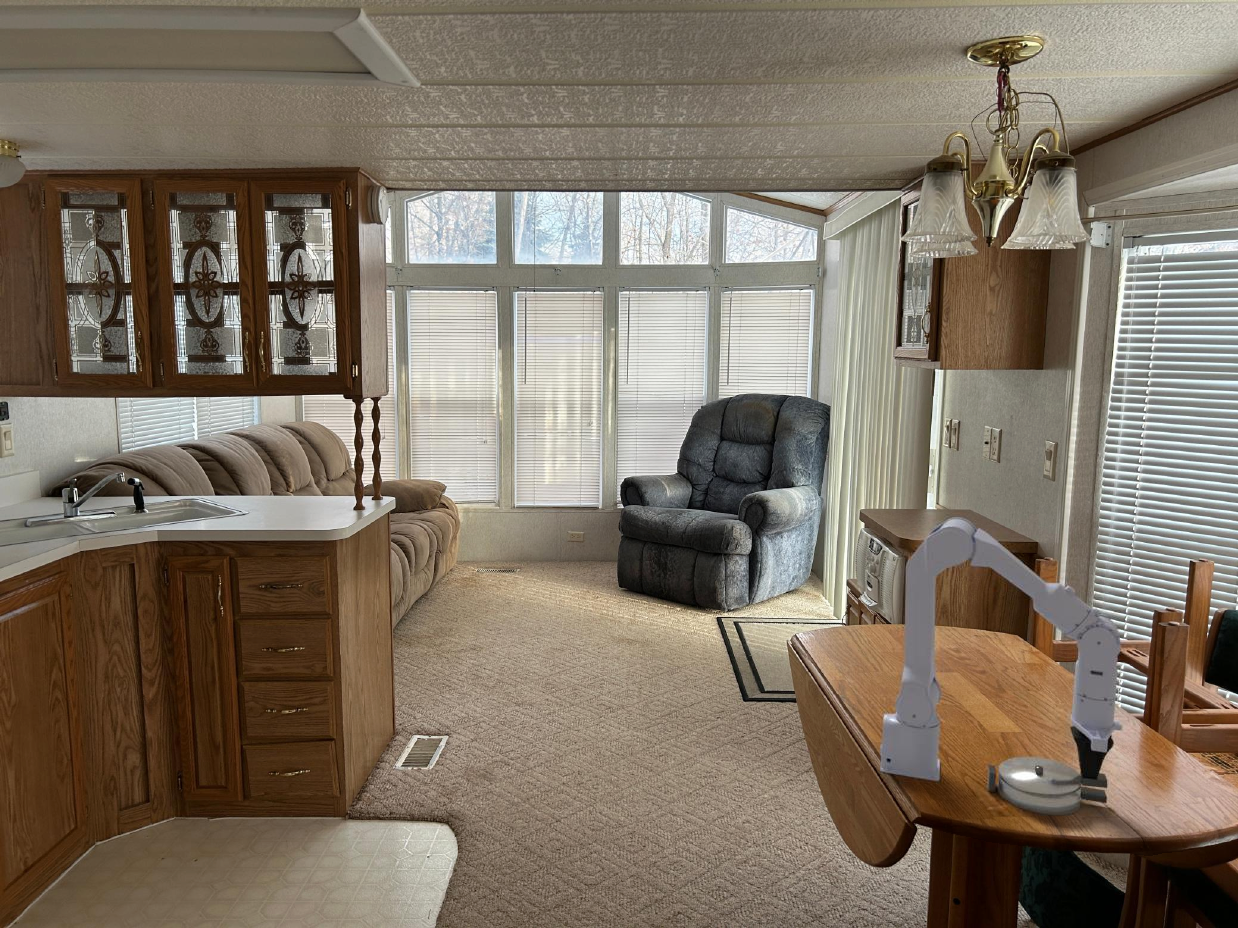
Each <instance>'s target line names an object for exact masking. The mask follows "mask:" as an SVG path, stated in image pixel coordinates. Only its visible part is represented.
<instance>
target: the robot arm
mask: <svg viewBox="0 0 1238 928" xmlns="http://www.w3.org/2000/svg"><path fill="white" fill-rule="evenodd" d="M969 559H972V560H971V562H970V564H969V565H970V567H971V566H972V567H982V568H983V567H984V568H986V567H987V568H991V569H992V570H993V571H995V572H996V573H997V574H999V575H1001V577H1003V578H1005V579H1006V580H1007V581H1009V582H1010V583H1011V584H1012V585H1014V586H1015V587H1017V588H1018V589H1019V590H1021V591H1022V592H1023V593H1025V594H1026V595H1028V596H1029V597H1030V598H1031V599H1032V601H1033V602H1032V603H1033V609H1034V611H1035V612H1036V613H1038V614H1039V615H1040V616H1041V617H1042V618H1044V619H1045V620H1046V621H1047V622H1049V624H1051V625H1053V626H1054V627H1055V628H1057V629H1058V630H1059V631H1060V632H1061V633H1062V634H1064V635H1065V636H1066V637H1068V638H1070V639H1072V640H1073V639H1074V640H1075V641H1076V646H1077V649H1078V653H1077V655H1078V656H1077V660H1076V662H1075V668H1074V685H1073V697H1072V698H1073V699H1072V711H1071V712H1072V713H1071V715H1070V723H1071V725H1072V726H1070V727H1069V728H1070V732H1071V735H1072V738H1073V740H1074V742H1075V745H1076V749H1077V756H1078V757H1077V758H1078V764H1079V770H1080V772H1081V774H1082V777H1088V778H1097V777H1098V775H1099V773H1100V772H1101V769H1102V765H1103V763H1104V760H1105V758H1106V756H1107V754H1108V753H1109V752H1110V751H1111V750H1112V748H1113V747H1114V744H1115V742H1114V739H1113V738H1112V737H1113V733H1114V731H1122V730H1123V724H1122V723H1121V721H1117V720H1115V709H1116V708H1115V707H1116V695H1117V694H1116V693H1117V681H1118V667H1117V664H1118V656H1119V654H1120V653H1121V650H1122V648H1123V647H1122V644H1121V639H1120V638H1121V637H1120V633H1119V629H1118V626H1117V625H1116V624H1115V622H1114V621H1113V620H1112V619H1111V618H1110V616H1109V615H1106V614H1104V613H1102V611H1101V610H1099V609H1098V608H1095V609H1094V608H1092V607H1091V606H1090V605H1088V604H1087V603H1086V602H1084V601H1083V600H1082V599H1080V598H1079V597H1078V596H1077V595H1076V590H1075V589H1074V588H1073V587H1072V586H1070V585H1067V586H1066V587H1065V586H1064V585H1063V584H1062V583H1060V582H1059V583H1058V582H1046V581H1045V580H1044V579H1042V577H1040V576H1039V575H1038V574H1036V573H1035V572H1034V570H1032V569H1030V568H1029V567H1028V566H1027V565H1025V564H1024V563H1023V562H1022V561H1021V560H1020V559H1019V558H1017V557H1016V556H1015V555H1014V554H1013V553H1011V552H1010V550H1009V549H1007V548H1006V547H1004V546H1003V545H1002V544H1001V543H1000V542H998V541H997V540H996V539H995V538H994V537H992V536H991V535H990V534H989V533H988V532H987V531H985V530H983V529H981V528H979V527H978V528H976V525H975V524H974V523H972V522H971V521H970V520H968V519H967V518H966V519H965V518H964V517H952V518H949V519H947V520H946V521H944V522H942V523H940V524H939V525H937V526H936V527H935V528H933V530H931V532H930V533H929V534H928V535H927V537H926V538H925V539H924V541H923V542H922V543H921V544H920V545H919V546H918V548H917V549H916V550H915V552H914V553H913V554H912V555H911V557H910V558H909V559H908V560H907V562H906V566H905V598H904V599H905V600H904V601H905V606H904V607H905V608H904V610H905V611H904V613H905V614H904V666H903V672H902V675H901V676H902V677H901V685H900V686H901V687H900V692H899V694H898V695H897V697H896V699H895V702H894V708H895V713H884V714H883V718H882V719H883V721H882V732H881V744H880V747H879V755H880V756H881V757H880V772H881V773H886V774H893V775H899V776H903V777H904V776H905V777H909V778H910V777H911V778H916V779H923V780H927V781H932V782H933V781H934V782H939V781H940V776H941V773H940V772H941V771H940V770H941V769H940V766H941V760H940V759H939V744H940V741H939V740H940V727H941V725H940V722H941V718H940V716H939V714H938V712H937V711H936V708H937V704H938V703H939V701H940V700H941V697H942V688H941V686H940V684H939V682H938V680H937V676H936V675H937V673H936V672H937V670H936V665H935V642H936V641H935V632H936V631H935V630H936V628H935V627H936V587H937V586H936V582H937V581H936V580H937V578H936V577H937V576H938V575H939V574H940V573H943V571H945V570H946V569H947V568H952V567H955V566H958V565H961V564H963V563H965V562H967V561H968V560H969Z"/></svg>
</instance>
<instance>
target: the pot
mask: <svg viewBox="0 0 1238 928" xmlns="http://www.w3.org/2000/svg"><path fill="white" fill-rule="evenodd" d="M996 771H997V770H996V766H995V765H991V764H988V769H987V791H988V792H990V793H996V782H997V791H998V794H999V795H1000V796H1001V797H1002V798H1003V799H1004V800H1005V801H1007V802H1008V803H1010V804H1012V805H1014V806H1015V807H1018V808H1020V809H1022V810H1025V811H1028V812H1032V813H1036V814H1041V815H1049V816H1066V815H1071V814H1074V813H1076V812H1077V811H1078V810H1079V809H1080V807H1081V800H1084V801H1091V802H1095V803H1103V804H1108V796H1107V794H1106V791H1105V789H1100V788H1095V787H1089V786H1082V785H1081V787H1080V789H1079V790H1078V791H1076V792H1074V793H1072V794H1068V795H1062V796H1043V795H1036V794H1031V793H1027V792H1024V791H1020V790H1018V789H1015V788H1013V787H1011V786H1009V785H1008V784H1006V783H1005V782H1004V781H1002V779H1001V778H1000V776H999V775H998V779H997V772H996ZM996 779H997V780H996Z"/></svg>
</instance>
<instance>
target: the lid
mask: <svg viewBox="0 0 1238 928" xmlns="http://www.w3.org/2000/svg"><path fill="white" fill-rule="evenodd" d="M999 776H1000V778H1001V779H1002V781H1004V782H1005V783H1006V784H1008V785H1009V786H1011V787H1013V788H1015V789H1018V790H1020V791H1024V792H1027V793H1031V794H1036V795H1043V796H1062V795H1068V794H1072V793H1074V792H1076V791H1078V790H1079V789H1080V787H1081V786H1082V787H1091V788H1103V789H1107V788H1108V779H1107V776H1106V774H1105V773H1100V772H1099V775H1098V777H1097V778H1088V777H1082V774H1081V771H1079V772H1078V770H1076V769H1075V768H1074V767H1071V766H1069V765H1067V764H1065V763H1063V762H1060V761H1057V760H1053V759H1051V758H1046V757H1045V758H1044V757H1037V756H1017V757H1012V758H1011V757H1010V758H1008V759H1006V760H1004V761H1002V762H1001V763H1000V764H999V765H998V777H999Z"/></svg>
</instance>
